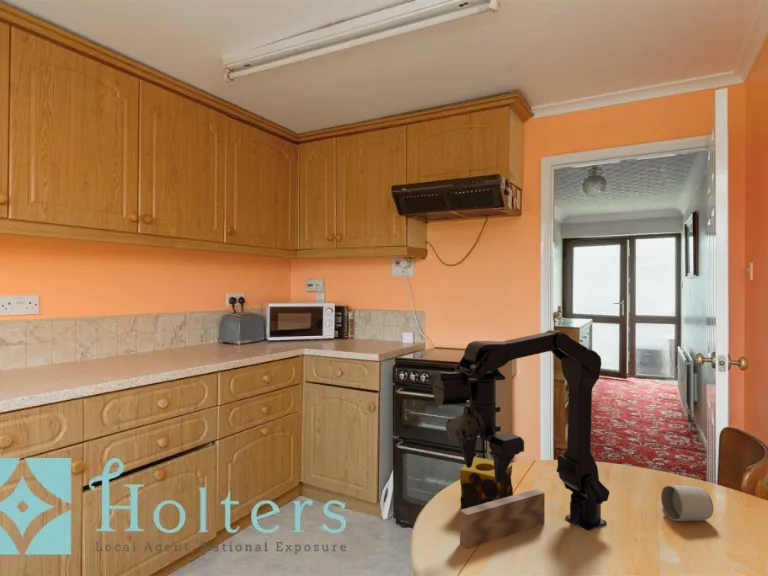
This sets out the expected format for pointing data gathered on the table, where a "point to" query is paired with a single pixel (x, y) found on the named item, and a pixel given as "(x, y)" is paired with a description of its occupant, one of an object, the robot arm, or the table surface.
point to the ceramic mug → (686, 503)
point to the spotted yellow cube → (483, 483)
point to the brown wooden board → (501, 518)
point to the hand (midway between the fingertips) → (483, 474)
